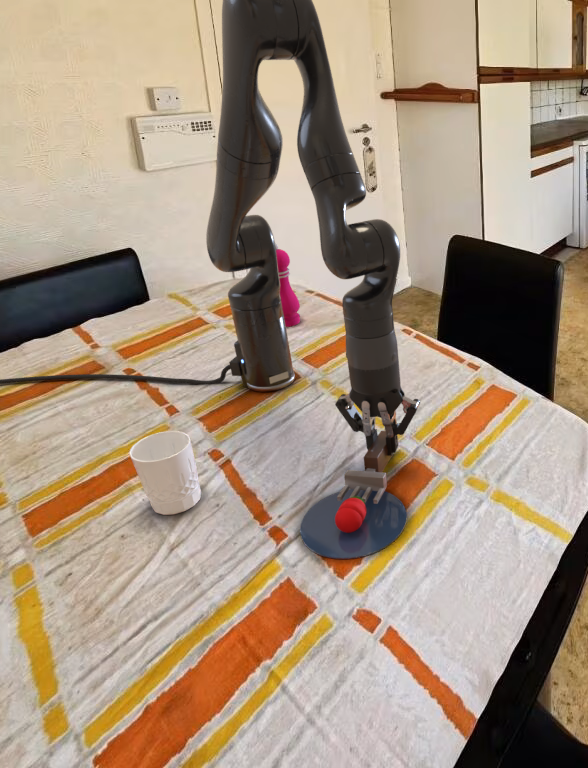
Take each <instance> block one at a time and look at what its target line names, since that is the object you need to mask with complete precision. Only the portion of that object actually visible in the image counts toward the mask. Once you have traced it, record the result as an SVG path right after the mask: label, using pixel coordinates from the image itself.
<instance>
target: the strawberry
mask: <svg viewBox="0 0 588 768" xmlns="http://www.w3.org/2000/svg"><path fill="white" fill-rule="evenodd" d="M365 516H366V506H365V501H364V500H363V499H362V498H361V497H358V496H353V497H351V498H349V499H347V500H345V501H344V502H343V503H342V504H341V506H340V508H339V509H338V511H337V513H336V516H335V523H336V526H337V527H338V528H339V529H340V530H341V531H343V532H346V533H350V532H354V531H356V530H357V529H358V528H359V527H360V526H361V524H362V522H363V520H364V518H365Z"/></svg>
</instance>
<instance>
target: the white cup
mask: <svg viewBox="0 0 588 768" xmlns="http://www.w3.org/2000/svg"><path fill="white" fill-rule="evenodd" d="M129 457H130V460H131V462H132V465H133V467H134V469H135V472H136V474H137V477H138V479H139V482H140V484H141V487H142V489H143V491H144V493H145V495H146V497H147V499H148V500H149V501H148V502H149V503H150V506H151V508H152V509H153V511H154V512H155V513H156V514H160V515H163V516H167V515H177V514H180V513H183V512H185V511H188V510H189V509H191V508H193V507H194V506H196V505H197V504H198V502H199V501H200V500H201V496H202V490H201V485H200V481H199V479H200V477H199V473H198V468H197V463H196V458H195V453H194V449H193V444H192V440H191V437H190V435H189V434H188V433H186V432H184V431H181V430H180V431H179V430H165V431H160V432H156V433H153V434H149V435H147V436H145V437H143V438H141V439H139V440H138V441H136V442H135V443H134V444H133V445H132V446H131V447H130V449H129Z"/></svg>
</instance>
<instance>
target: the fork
mask: <svg viewBox="0 0 588 768" xmlns="http://www.w3.org/2000/svg"><path fill="white" fill-rule="evenodd" d="M386 436H387V435H386V431H385V430H380V431H379V433H378V436H377V438H376V439H375V441H374V442H373V444H372V445H371V447H370V448H369V450H368V449H367V451H366V452H365V454H364V455H363V464H364V470H356V469H347V470H346V472H345V473H344V475H343V479H344V485H343V487H342V489H341V490H340V491H341V492H340V491H339V492H340V493H339V495H338V496H337V500H338V501H342V499H343V498H344V496H345V494H346V493H347V491H348V490H349V489H354V491H353V492H352V494H351V496H350V497H349V498H351V497H353V496H357V495H358V493H359V492H360V490H366V492H365V493H364V495H363V497H362V499H363V500H364V501H365V503H366V501H367V499H368V497H369V496H370V494H371V492H372V491H378V492H377V494H376V496H375V498H374V499H373V501H374V504H378V502H379V500H380V498H381V496H382V494H383V493H384V491H386V489H387V486H388V481H387V472H384V470H385V469H386V467H387V465H388V464H389V462H390V460H391V459H392V456H388V453H387V444H386Z"/></svg>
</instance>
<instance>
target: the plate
mask: <svg viewBox="0 0 588 768" xmlns="http://www.w3.org/2000/svg"><path fill="white" fill-rule="evenodd" d="M353 491H354V489H349V490H348V491H347V493H346V494H345V496H344V498H343V499H342V501H338V500H337V496H338V495H339V493H340V492H341V490H340V491H338V492H334V493H331V494H330V495H327V496H325V497H324V498H321V499H320V500H318V501H317V502H316V503H315V504H313V505H312V506H311V507H310V508H309V509H308V510H307V512H305V515H304V516H303V518H302V520H301V523H300V525H299V533H300V537H301V541H302V542H303V544H304V545H305V546H306V548H307V549H308V550H310V551H311V552H313V553H314V554H317V555H318V556H321V557H325V558H328V559H334V560H352V559H353V560H354V559H359V558H364V557H367V556H370V555H373V554H375V553H376V554H377V553H378V552H380V551H382V550H384V549H385V548H387V547H389V546H390V545H391V544H392V543H394V542H395V541H396V540H397V539H398V538H399V537H400V536H401V534H402V533H403V531H404V530H405V528H406V524H407V520H408V519H407V518H408V514H407V510H406V507H405V505H404V504H403V502H402V501H401V500H400V499H399V498H398V497H397V496H396V495H394V494H392V493H391V492H388V491H386V490H385V491H384V493H383V494H382V496H381V498H380V500H379V502H378V504H374V501H373V499H374V498H375V496H376V494H377V492H378V491H372V492H371V494H370V496H369V497H368V499H367V501H366V503H365V506H366V516H365V518H364V520H363V522H362V524H361V526H360V527H359V528H358V529H357V530H356V531H354V532H350V533H346V532H343V531H341V530H340V529H339V528H338V527H337V526H336V523H335V516H336V513H337V511H338V509H339V508H340V506H341V504H342V503H343V502H344V501H345V500H347V499H349V497H350V496H351V494H352V492H353ZM365 492H366V490H360V492H359V493H358V495H357V496H358V497H361V498H362V497H363V495H364V493H365Z"/></svg>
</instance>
